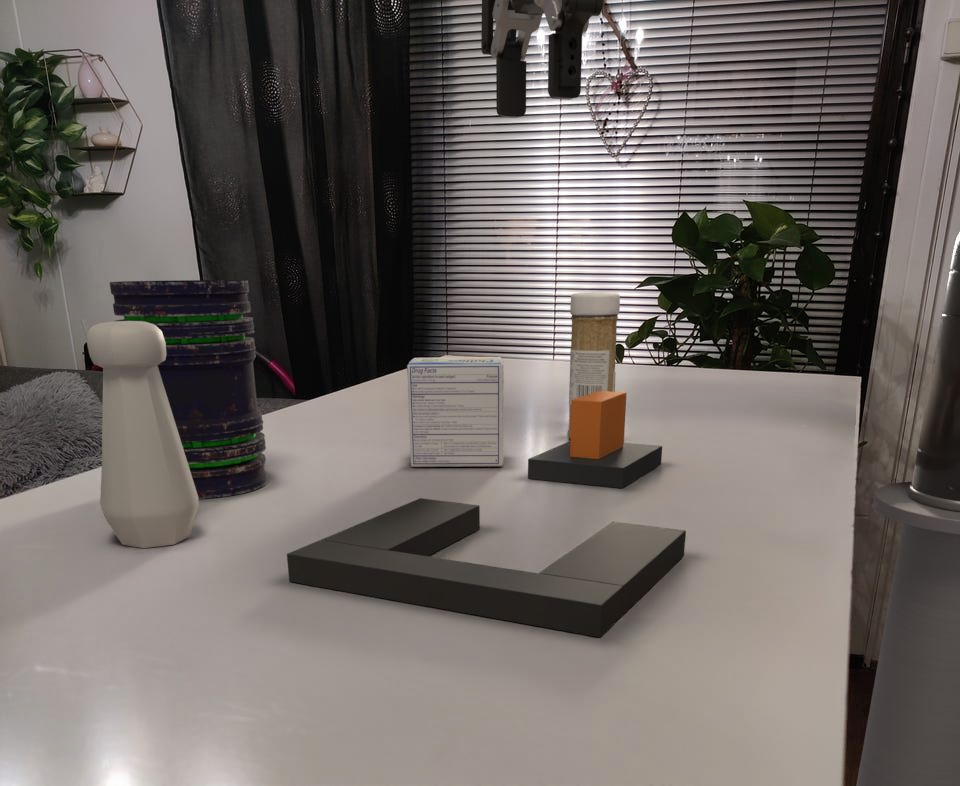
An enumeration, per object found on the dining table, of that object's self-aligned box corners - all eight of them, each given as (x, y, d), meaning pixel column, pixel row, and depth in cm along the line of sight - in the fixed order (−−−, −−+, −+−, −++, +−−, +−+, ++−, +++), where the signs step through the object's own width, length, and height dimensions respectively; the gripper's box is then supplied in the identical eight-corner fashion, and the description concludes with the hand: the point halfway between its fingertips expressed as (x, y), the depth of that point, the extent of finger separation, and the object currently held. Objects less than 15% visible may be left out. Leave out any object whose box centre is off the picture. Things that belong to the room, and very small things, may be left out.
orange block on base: (574, 456, 81) (576, 386, 78) (661, 464, 77) (666, 391, 75) (527, 478, 73) (528, 401, 70) (622, 488, 69) (627, 407, 67)
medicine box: (503, 458, 80) (504, 356, 77) (503, 468, 76) (503, 361, 73) (415, 458, 81) (411, 356, 77) (410, 468, 77) (406, 362, 73)
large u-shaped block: (420, 521, 61) (420, 497, 60) (684, 556, 53) (686, 530, 52) (288, 581, 49) (286, 553, 49) (600, 637, 42) (601, 605, 41)
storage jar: (291, 474, 75) (274, 279, 69) (229, 503, 66) (203, 282, 60) (185, 468, 77) (160, 280, 71) (111, 495, 68) (76, 282, 63)
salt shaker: (89, 540, 57) (49, 322, 52) (169, 521, 61) (140, 317, 56) (139, 557, 54) (102, 326, 49) (221, 536, 58) (194, 320, 53)
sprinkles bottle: (620, 437, 90) (628, 292, 85) (600, 444, 86) (607, 293, 81) (579, 433, 92) (584, 291, 87) (558, 440, 88) (562, 292, 83)
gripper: (646, -210, 55) (632, 95, 62) (540, -124, 67) (537, 124, 74) (537, -234, 53) (534, 89, 59) (446, -140, 65) (452, 120, 71)
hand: (536, 108), depth 66 cm, fingers open, 8 cm apart
